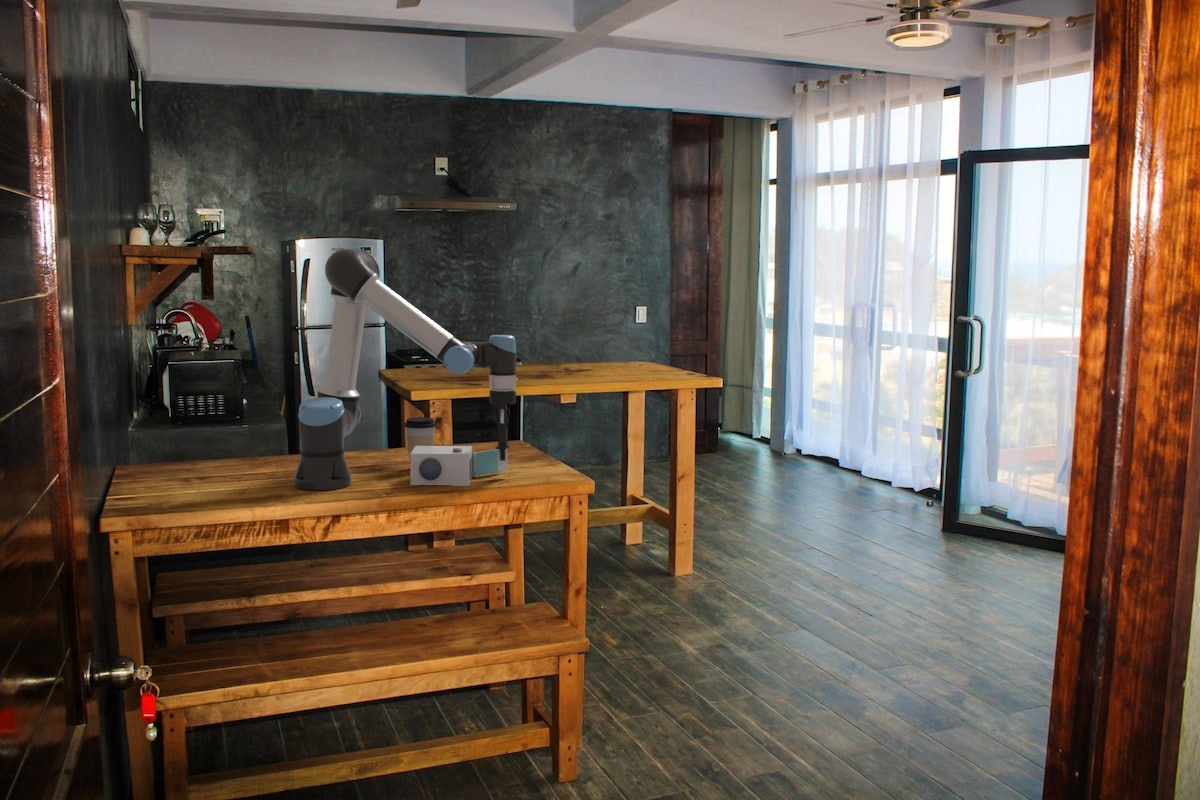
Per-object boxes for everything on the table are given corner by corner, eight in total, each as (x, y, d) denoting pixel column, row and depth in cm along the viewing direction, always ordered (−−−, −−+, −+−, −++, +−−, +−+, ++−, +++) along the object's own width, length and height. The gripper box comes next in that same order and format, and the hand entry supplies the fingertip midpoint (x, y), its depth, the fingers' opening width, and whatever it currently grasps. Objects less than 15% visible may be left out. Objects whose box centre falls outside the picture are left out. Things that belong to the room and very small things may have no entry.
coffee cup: (429, 472, 288) (429, 422, 286) (399, 471, 290) (398, 420, 288) (441, 466, 297) (440, 417, 295) (411, 464, 299) (411, 416, 297)
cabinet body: (409, 486, 270) (409, 451, 268) (415, 476, 283) (415, 443, 281) (469, 487, 271) (469, 451, 269) (472, 476, 284) (472, 443, 282)
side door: (473, 477, 282) (473, 452, 281) (469, 476, 284) (469, 451, 283) (501, 473, 288) (501, 449, 287) (497, 472, 290) (497, 448, 289)
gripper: (515, 392, 273) (515, 475, 277) (516, 386, 286) (516, 466, 290) (488, 392, 273) (488, 475, 276) (490, 386, 286) (490, 466, 289)
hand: (502, 470), depth 283 cm, fingers closed
